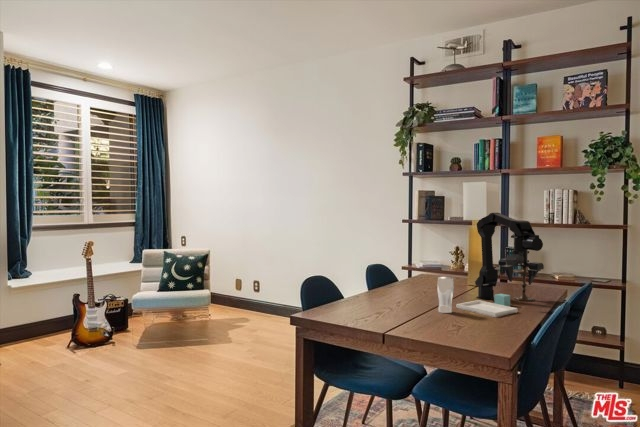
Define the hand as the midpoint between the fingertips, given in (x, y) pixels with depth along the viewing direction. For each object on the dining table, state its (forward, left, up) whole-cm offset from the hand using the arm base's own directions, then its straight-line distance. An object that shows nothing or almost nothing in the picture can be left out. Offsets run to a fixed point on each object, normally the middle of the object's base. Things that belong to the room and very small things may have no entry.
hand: (520, 283), depth 202 cm
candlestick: (-11, +22, -12) cm, 27 cm away
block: (-9, +1, -12) cm, 15 cm away
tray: (-7, -14, -12) cm, 20 cm away
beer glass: (-15, -32, -12) cm, 38 cm away
